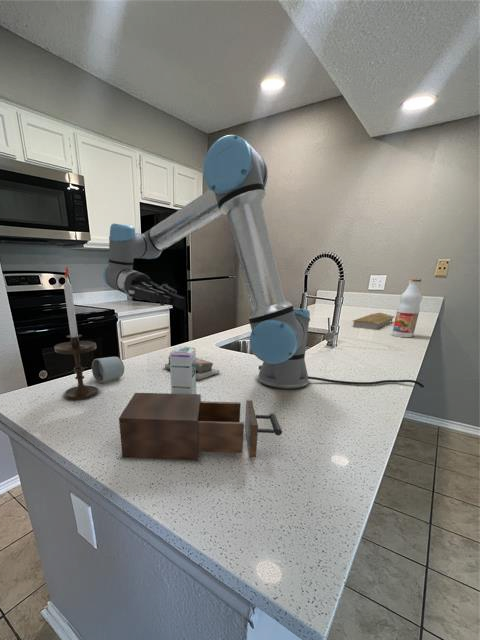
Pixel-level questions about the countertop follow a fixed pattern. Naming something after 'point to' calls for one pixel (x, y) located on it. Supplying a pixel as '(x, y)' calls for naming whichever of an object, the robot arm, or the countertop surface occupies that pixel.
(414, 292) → the fruit juice
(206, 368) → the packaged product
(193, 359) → the syrup box
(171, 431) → the cabinet
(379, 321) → the brown flat block
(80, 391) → the candlestick
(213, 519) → the countertop surface
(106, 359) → the light blue cylinder
